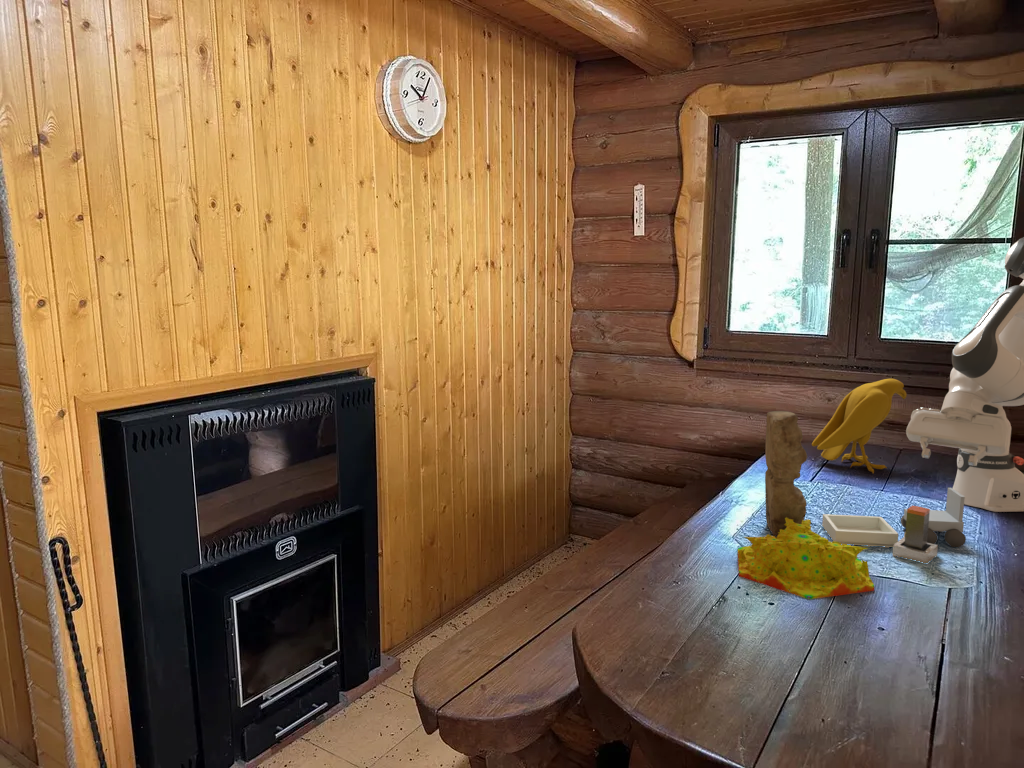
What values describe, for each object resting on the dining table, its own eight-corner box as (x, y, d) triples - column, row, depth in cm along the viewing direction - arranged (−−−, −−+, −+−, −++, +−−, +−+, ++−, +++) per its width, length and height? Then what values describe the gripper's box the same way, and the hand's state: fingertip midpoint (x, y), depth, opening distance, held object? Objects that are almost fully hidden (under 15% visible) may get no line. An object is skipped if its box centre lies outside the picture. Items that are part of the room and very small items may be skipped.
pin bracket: (903, 547, 163) (903, 536, 162) (936, 555, 158) (937, 545, 157) (892, 555, 158) (893, 545, 157) (926, 564, 153) (927, 553, 152)
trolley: (943, 530, 173) (947, 485, 171) (965, 548, 162) (969, 499, 160) (900, 528, 174) (903, 483, 173) (918, 545, 163) (922, 497, 162)
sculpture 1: (808, 542, 166) (815, 418, 161) (767, 540, 168) (773, 417, 163) (798, 524, 178) (804, 408, 173) (760, 522, 180) (765, 407, 175)
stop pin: (908, 551, 160) (912, 505, 158) (925, 555, 158) (929, 508, 156) (903, 555, 158) (907, 509, 156) (920, 560, 155) (924, 512, 154)
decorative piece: (740, 556, 140) (738, 508, 168) (739, 593, 141) (736, 539, 170) (884, 570, 133) (856, 517, 161) (881, 609, 134) (854, 550, 162)
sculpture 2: (908, 478, 221) (926, 385, 216) (824, 470, 221) (840, 377, 216) (876, 461, 241) (892, 375, 236) (799, 454, 241) (813, 368, 236)
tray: (880, 529, 173) (881, 516, 173) (897, 547, 162) (898, 533, 162) (822, 527, 176) (822, 514, 175) (834, 544, 165) (835, 530, 164)
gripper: (912, 399, 172) (896, 444, 167) (1012, 410, 158) (999, 461, 153) (915, 414, 176) (900, 459, 171) (1014, 426, 162) (1001, 476, 157)
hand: (948, 460), depth 162 cm, fingers open, 8 cm apart
